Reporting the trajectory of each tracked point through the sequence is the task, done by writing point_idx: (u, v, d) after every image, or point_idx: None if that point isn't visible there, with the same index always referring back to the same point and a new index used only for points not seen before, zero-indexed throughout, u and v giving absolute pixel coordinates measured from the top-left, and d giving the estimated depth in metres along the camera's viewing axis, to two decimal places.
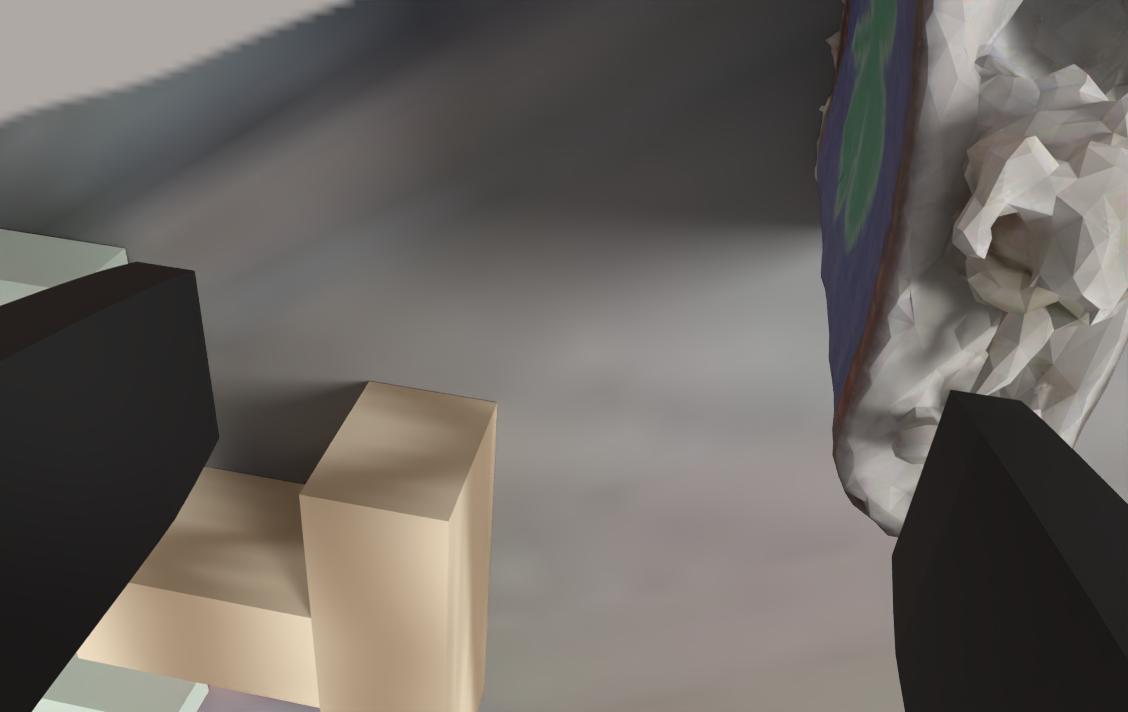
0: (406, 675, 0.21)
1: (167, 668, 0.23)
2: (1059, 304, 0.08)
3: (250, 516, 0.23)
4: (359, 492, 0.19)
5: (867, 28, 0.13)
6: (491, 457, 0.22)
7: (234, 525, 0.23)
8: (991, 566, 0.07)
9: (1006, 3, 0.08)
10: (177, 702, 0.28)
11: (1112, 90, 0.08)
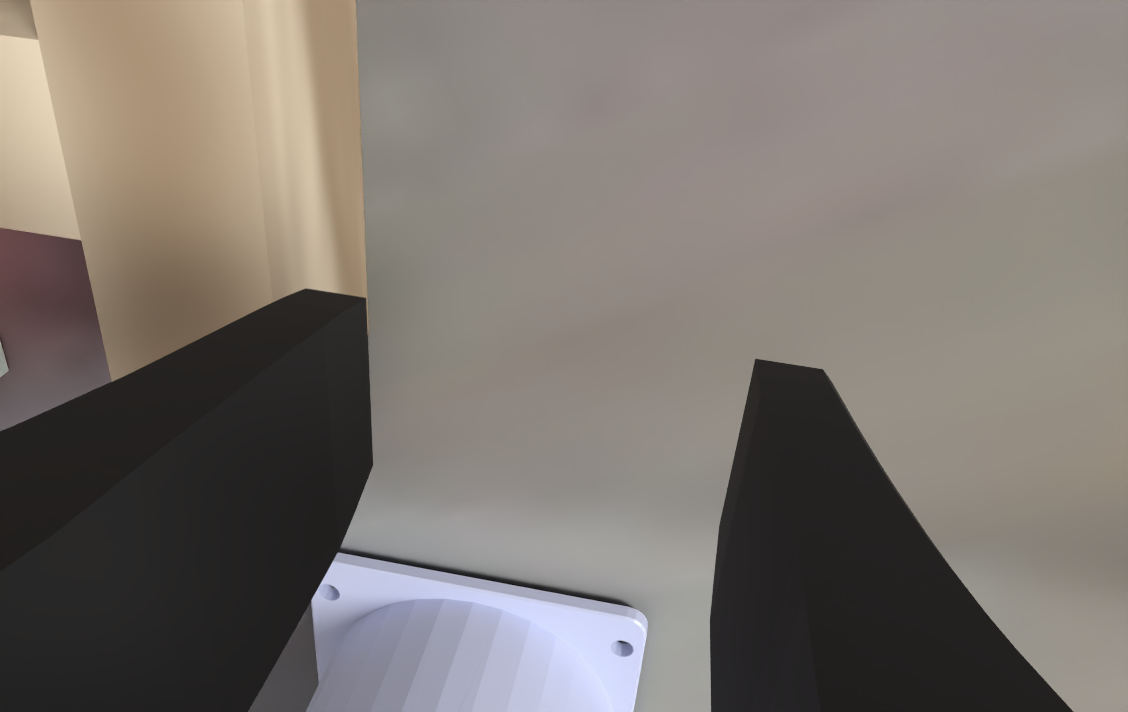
0: (195, 149, 0.14)
1: None
2: None
3: None
4: None
5: None
6: None
7: None
8: (756, 525, 0.07)
9: None
10: None
11: None
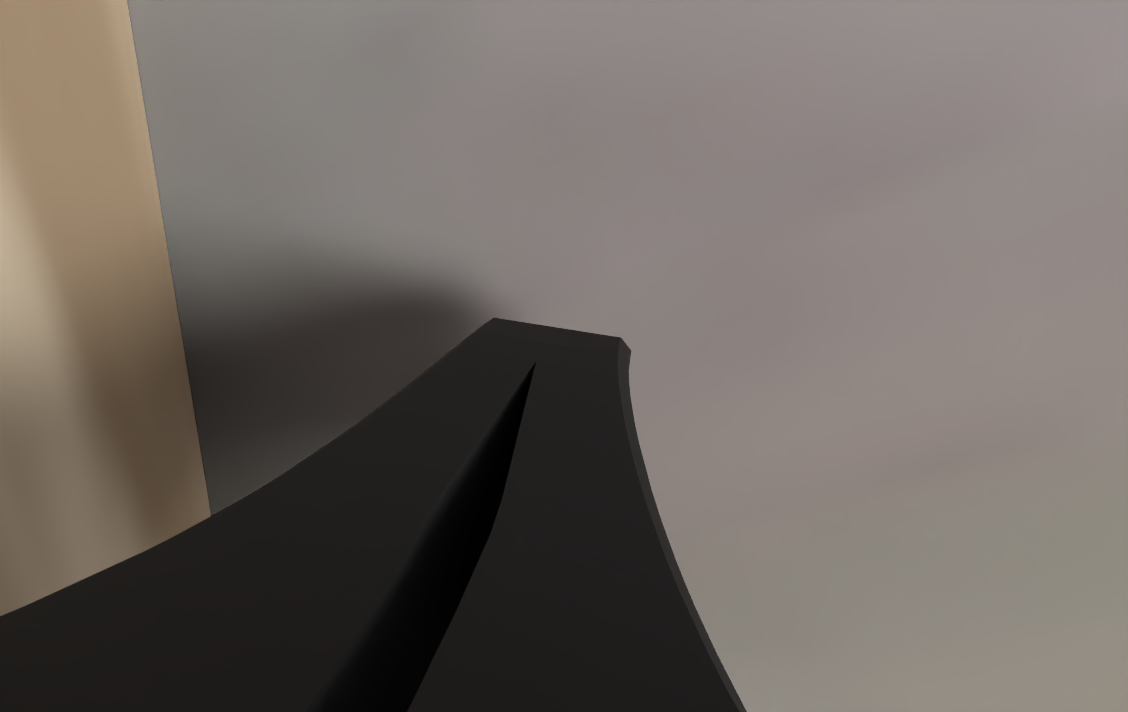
0: None
1: None
2: None
3: None
4: None
5: None
6: None
7: None
8: None
9: None
10: None
11: None
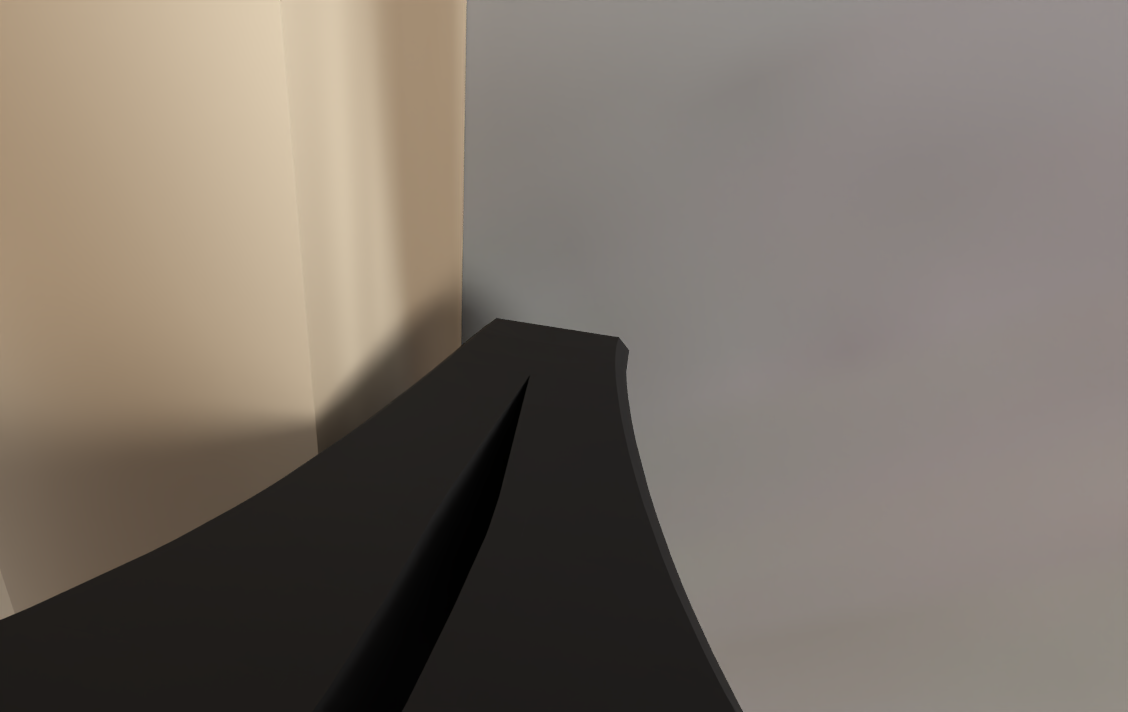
0: (213, 517, 0.08)
1: None
2: None
3: None
4: None
5: None
6: None
7: None
8: None
9: None
10: None
11: None
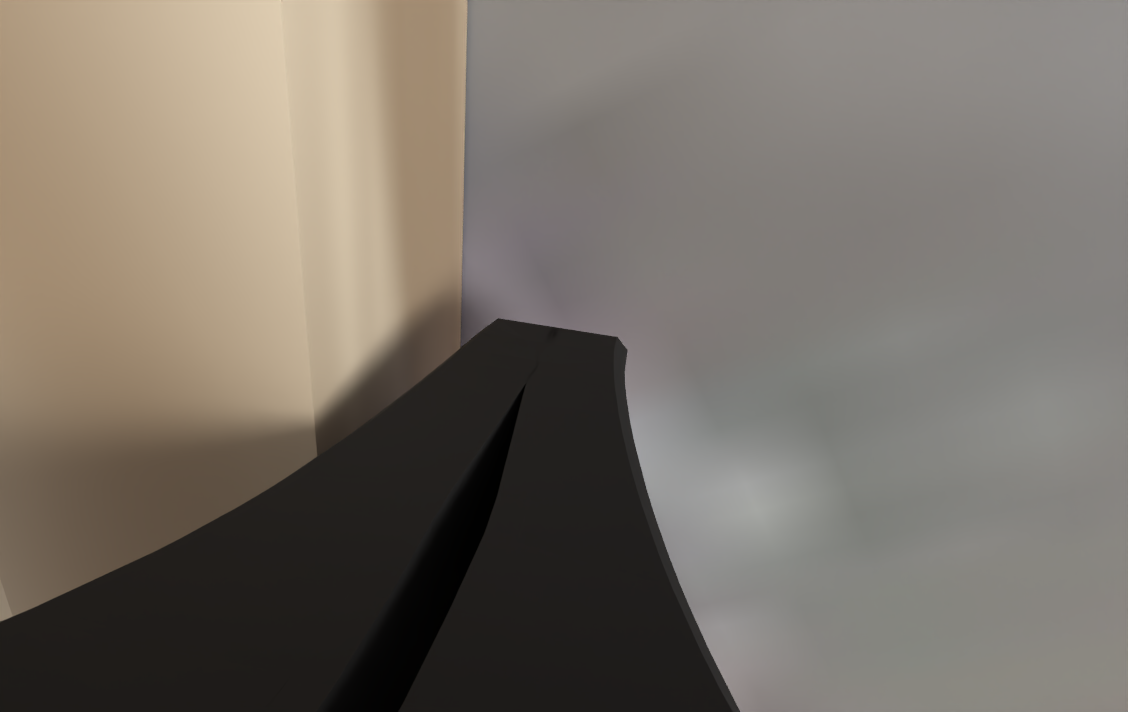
0: None
1: None
2: None
3: None
4: None
5: None
6: None
7: None
8: None
9: None
10: None
11: None
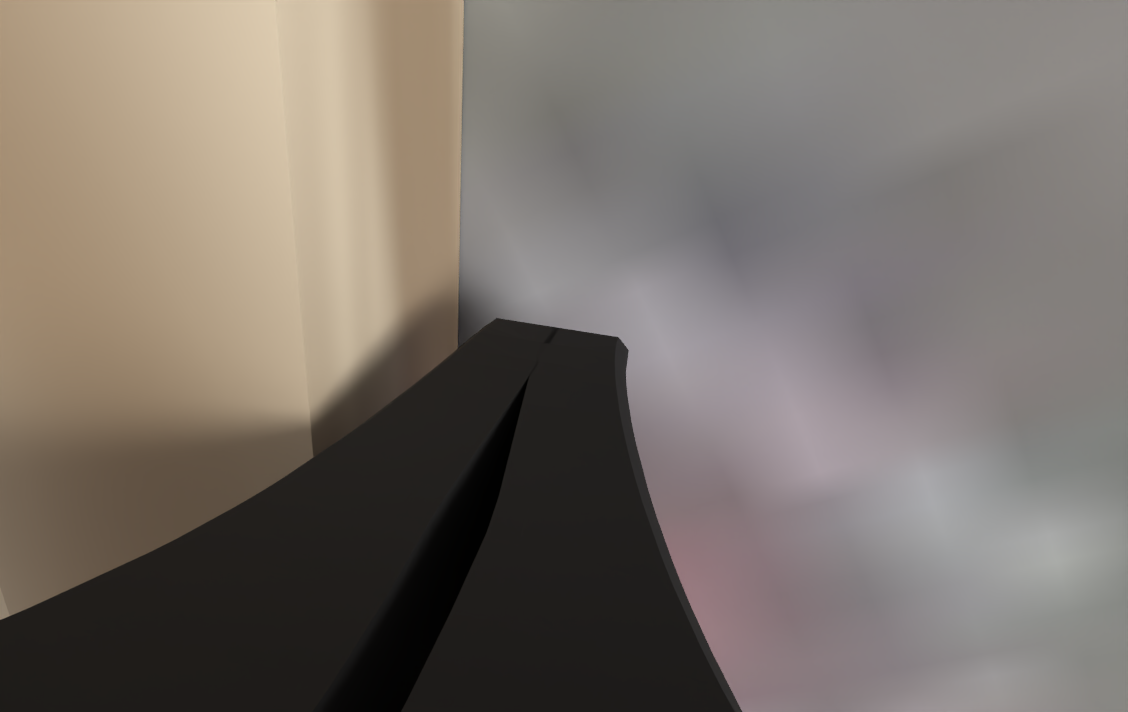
0: None
1: None
2: None
3: None
4: None
5: None
6: None
7: None
8: None
9: None
10: None
11: None
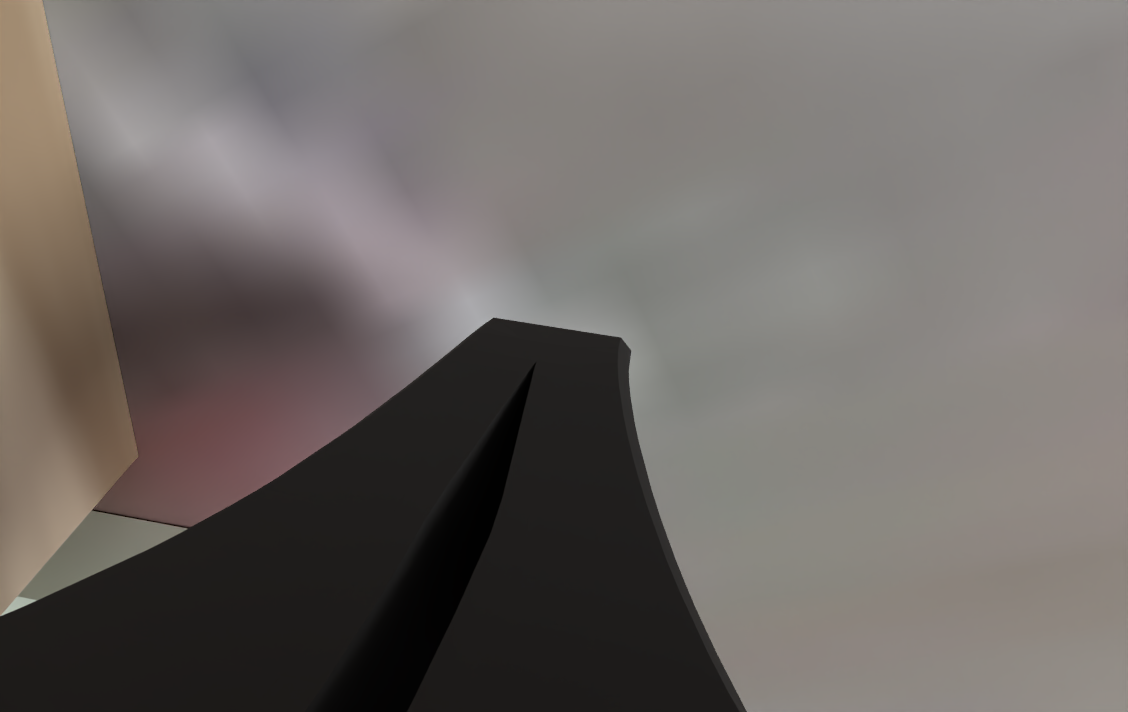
0: None
1: None
2: None
3: None
4: None
5: None
6: None
7: None
8: None
9: None
10: None
11: None
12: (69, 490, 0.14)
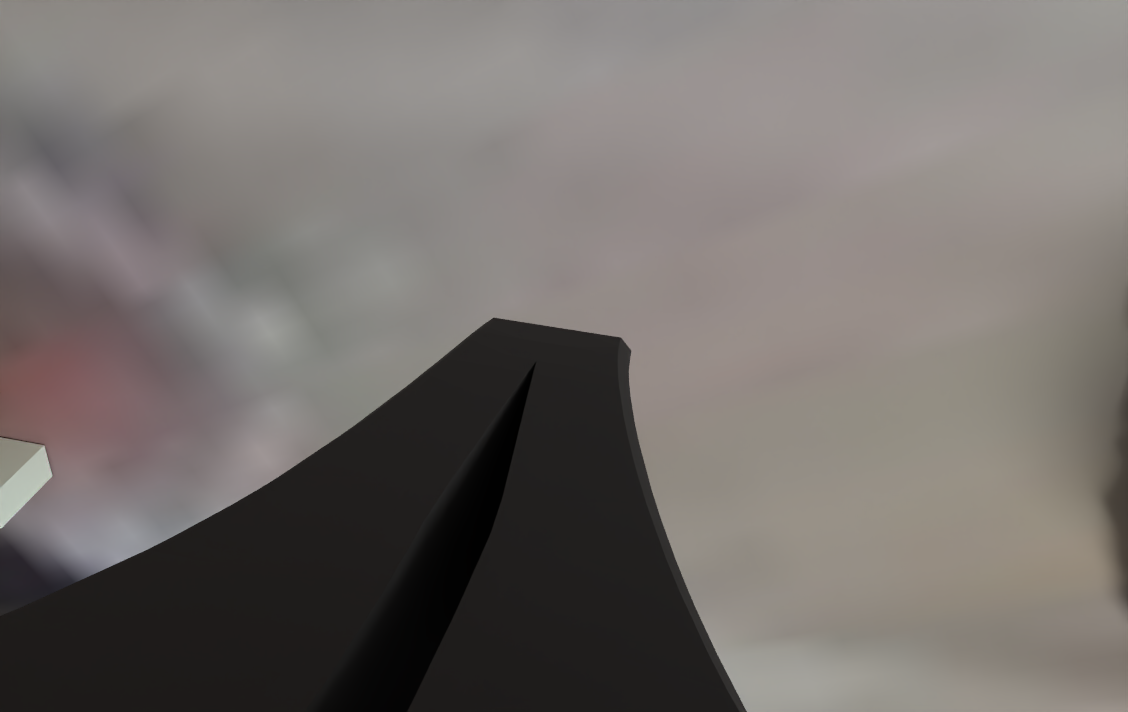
0: None
1: None
2: None
3: None
4: None
5: None
6: None
7: None
8: None
9: None
10: (4, 475, 0.23)
11: None
12: None
